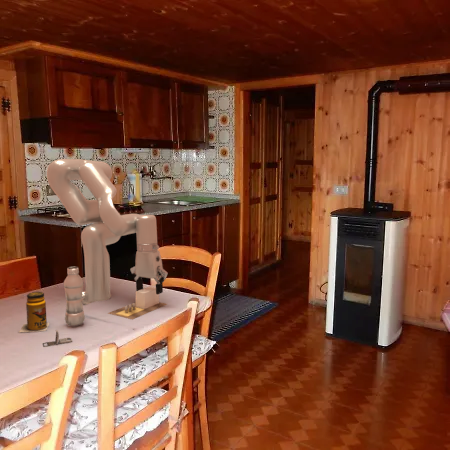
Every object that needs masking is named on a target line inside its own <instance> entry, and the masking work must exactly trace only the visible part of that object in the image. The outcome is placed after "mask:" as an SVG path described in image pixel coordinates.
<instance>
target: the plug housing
mask: <svg viewBox="0 0 450 450" xmlns="http://www.w3.org/2000/svg"><path fill="white" fill-rule="evenodd" d="M135 302H136V307H138V308H143V309H146V308H148V307H151V306H153V305H155V304H158V303H159V302H160V294H156V286H147V287H143V289H141V290H138V291H135Z"/></svg>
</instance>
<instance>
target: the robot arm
mask: <svg viewBox="0 0 450 450" xmlns="http://www.w3.org/2000/svg"><path fill="white" fill-rule="evenodd" d="M112 177H113V170H112V167H111V166H110V165H109V164H108V163H107V162H104V161H100V160H99V161H97V160H89V159H82V158H80V159H79V158H58V159H55V160H53V161H51V162H50V163H49V164H48V167H47V171H46V178H47V182H48V185H49V187H50V189H51V190H52V191H53V192H54V194H55V195H56V196H57V197H58V199H59V200H60V202H61V204H62V205H63V207H64V208H65V210H66V212H67V213H68V214H69V216H70V217H71V219H72V220H73V222H74V223H75V224H77V225H78V226H79V225H80V226H81V225H82V226H84V225H86V226H85V227H84V228H83V230H82V232H81V235H80V239H81V244H82V248H83V256H84V274H85V275H84V278H85V283H84V284H85V289H84V290H83V291H82V304H83V305H85V306H86V305H89V304H92V303H95V302H103V301H107V300H110V298H111V297H112V296H113V295H112V294H111V270H110V269H111V267H110V265H111V264H110V254H109V252H108V249H107V246H110V245H112V244H115V243H117V242H118V241H119V240H120V239H121V237H122V236H127V235H131V234H135V233H136V250H137V251H136V254H135V261H134V262H135V266H133V267H131V268H130V272H131V276H132V277H133V280H134V281H135V285H136V288H135V289H136V291H138V290H141V289H144V279H142V278H146V279H154V281H155V282H156V283H155V287H156V294H159V295H160V294H162V293H164V292H163V291H164V286H163V283H164V282H165V281H166V279H167V276H168V272H167V271H166V270H165V269H164V267H163V261H162V256H161V252H160V250H159V248H160V246H159V245H158V231H157V229H158V227H157V218H156V216H155V215H154V214H139V213H129V214H127V213H126V214H120V213H119V211H118V210H117V209H116V207H115V205H114V203H113V199H114V198H115V196H116V195H117V192H118V189H117V188H116V186H115V185H114V184H113V182H112V181H111V179H112ZM72 181H82V183H84V185H85V186H86V188H87V189H88V190H89V191H90V193H91V194H92V195H93V197H94V198H95V199H90V200H89V199H87V198H86V197H85V195H84V194H83V193H82V191H81V190H80V189H79V187H77V185H76V184H74V183H72ZM136 291H135V292H136Z"/></svg>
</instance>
